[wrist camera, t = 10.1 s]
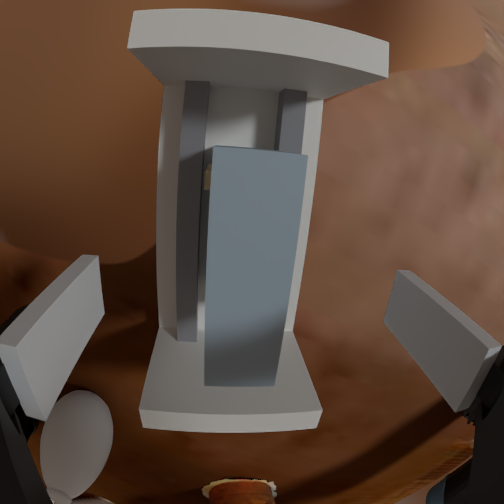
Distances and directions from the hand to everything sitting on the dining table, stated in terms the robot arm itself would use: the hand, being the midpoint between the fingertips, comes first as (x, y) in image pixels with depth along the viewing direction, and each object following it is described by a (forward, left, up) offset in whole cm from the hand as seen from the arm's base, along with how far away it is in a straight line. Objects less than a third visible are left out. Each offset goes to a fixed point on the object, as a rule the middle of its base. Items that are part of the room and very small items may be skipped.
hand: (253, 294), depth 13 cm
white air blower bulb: (-23, +16, -14) cm, 31 cm away
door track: (0, 0, -14) cm, 14 cm away
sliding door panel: (0, 0, -12) cm, 12 cm away
